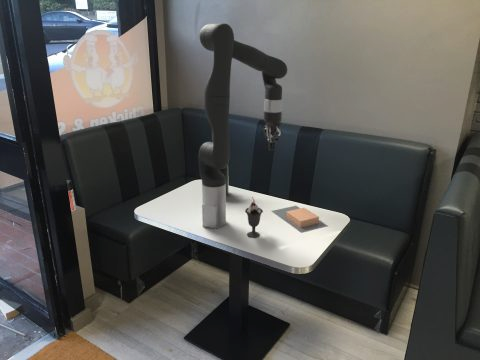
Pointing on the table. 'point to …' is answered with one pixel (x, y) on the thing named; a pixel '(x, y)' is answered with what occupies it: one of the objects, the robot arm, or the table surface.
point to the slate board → (282, 215)
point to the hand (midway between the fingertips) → (271, 150)
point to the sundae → (253, 218)
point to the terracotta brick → (302, 217)
